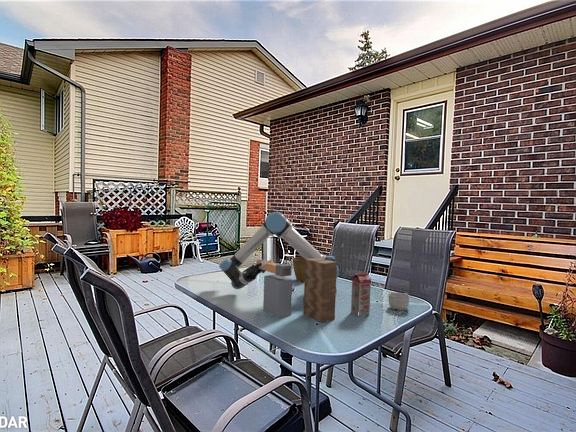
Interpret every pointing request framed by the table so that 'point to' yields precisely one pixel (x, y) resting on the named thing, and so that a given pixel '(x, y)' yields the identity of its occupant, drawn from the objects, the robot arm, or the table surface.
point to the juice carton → (360, 294)
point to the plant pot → (299, 268)
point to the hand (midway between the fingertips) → (268, 261)
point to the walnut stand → (320, 289)
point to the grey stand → (277, 295)
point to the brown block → (277, 268)
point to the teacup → (399, 300)
